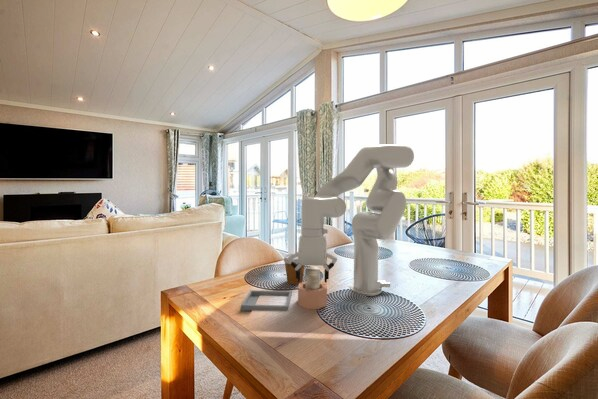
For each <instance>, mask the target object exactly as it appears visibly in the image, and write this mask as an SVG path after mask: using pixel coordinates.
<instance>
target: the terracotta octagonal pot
mask: <svg viewBox="0 0 598 399" xmlns="http://www.w3.org/2000/svg"><path fill="white" fill-rule="evenodd" d="M327 286H328V285H327V283H325V282H322V281H320V289H318V290H308V289H306V280H305V281H303V282H302V283H299V284H298V286H297V306H300V307H301V308H303V309H307V310H310V309H311V310H320V309H322V308H324V307H327V306H328V287H327Z"/></svg>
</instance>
